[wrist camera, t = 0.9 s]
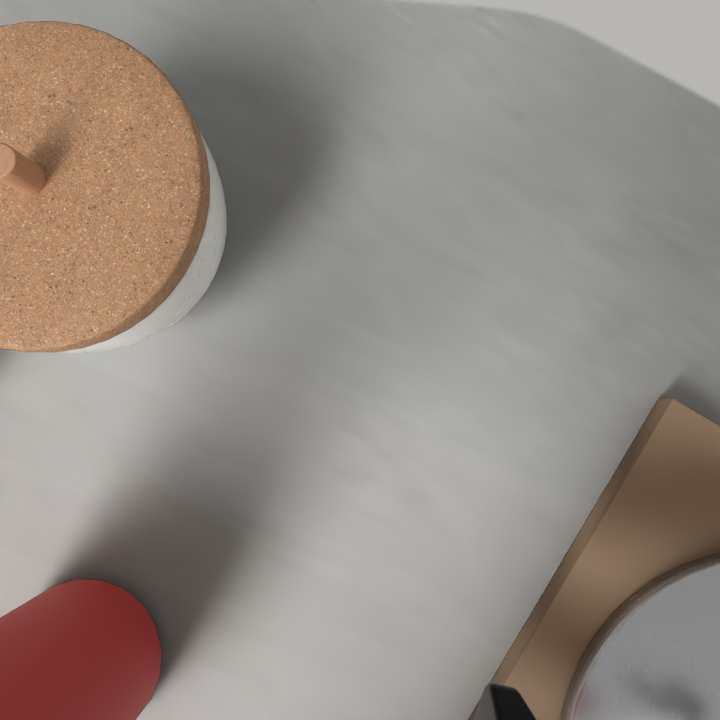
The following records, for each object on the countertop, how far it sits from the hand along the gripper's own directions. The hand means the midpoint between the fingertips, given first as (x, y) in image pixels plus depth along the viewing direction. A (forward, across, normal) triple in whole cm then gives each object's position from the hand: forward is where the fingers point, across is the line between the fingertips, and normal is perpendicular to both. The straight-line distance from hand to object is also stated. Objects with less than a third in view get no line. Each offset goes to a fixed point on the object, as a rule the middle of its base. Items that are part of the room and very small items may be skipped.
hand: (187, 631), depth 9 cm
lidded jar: (+18, +10, -1) cm, 21 cm away
